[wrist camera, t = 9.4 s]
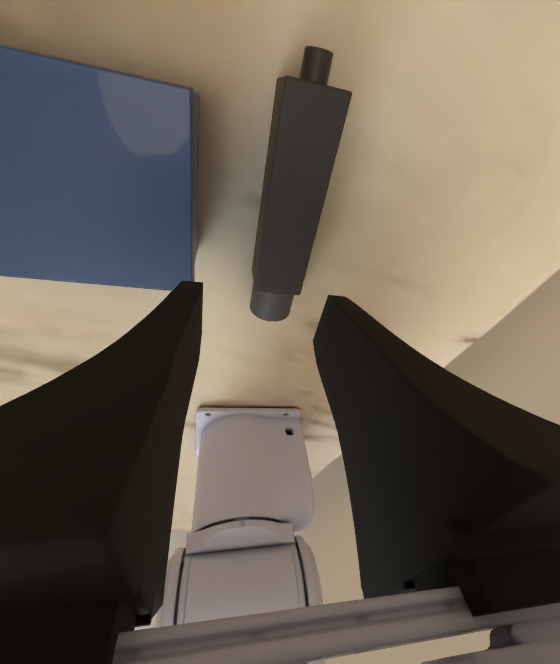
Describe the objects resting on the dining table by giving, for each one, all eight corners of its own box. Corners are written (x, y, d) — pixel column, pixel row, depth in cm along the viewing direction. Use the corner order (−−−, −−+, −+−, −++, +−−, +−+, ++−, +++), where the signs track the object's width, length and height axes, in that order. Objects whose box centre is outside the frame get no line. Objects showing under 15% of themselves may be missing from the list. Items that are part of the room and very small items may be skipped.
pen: (281, 44, 12) (291, 36, 10) (341, 61, 12) (362, 55, 10) (248, 296, 19) (249, 320, 17) (286, 300, 20) (292, 323, 18)
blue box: (203, 88, 12) (190, 88, 9) (200, 251, 17) (192, 292, 13) (-103, 18, 10) (-274, -17, 7) (-12, 226, 15) (-87, 269, 11)
